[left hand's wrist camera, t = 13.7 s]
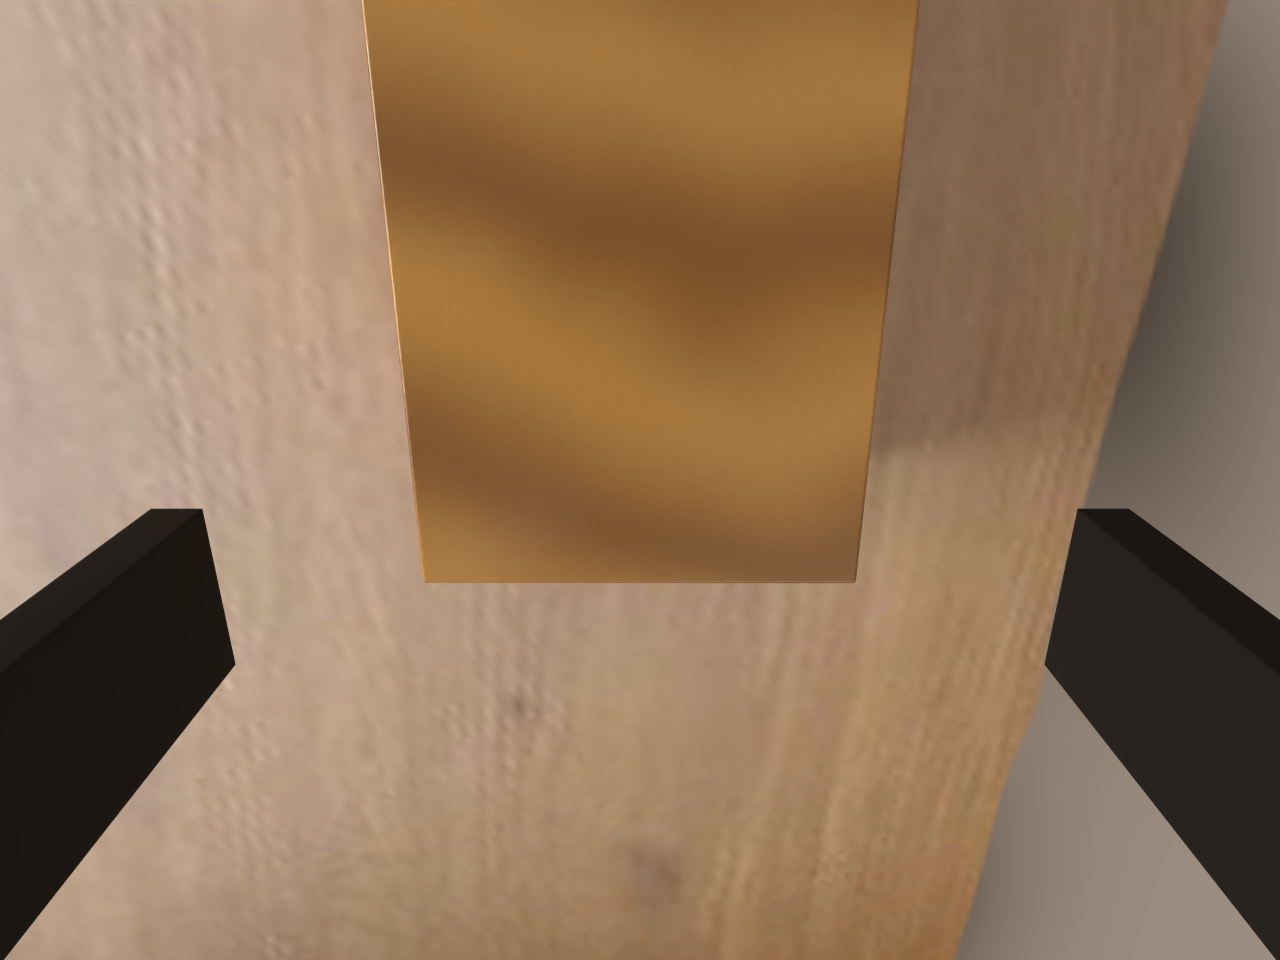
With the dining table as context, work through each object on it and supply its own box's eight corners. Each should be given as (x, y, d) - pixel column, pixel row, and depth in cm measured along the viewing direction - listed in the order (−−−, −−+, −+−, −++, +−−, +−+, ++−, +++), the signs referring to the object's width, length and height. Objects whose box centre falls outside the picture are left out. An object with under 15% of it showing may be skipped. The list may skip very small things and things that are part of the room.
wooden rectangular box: (434, -185, 22) (319, -372, 14) (846, -184, 22) (962, -369, 14) (481, 465, 29) (422, 584, 21) (797, 465, 29) (856, 584, 21)
